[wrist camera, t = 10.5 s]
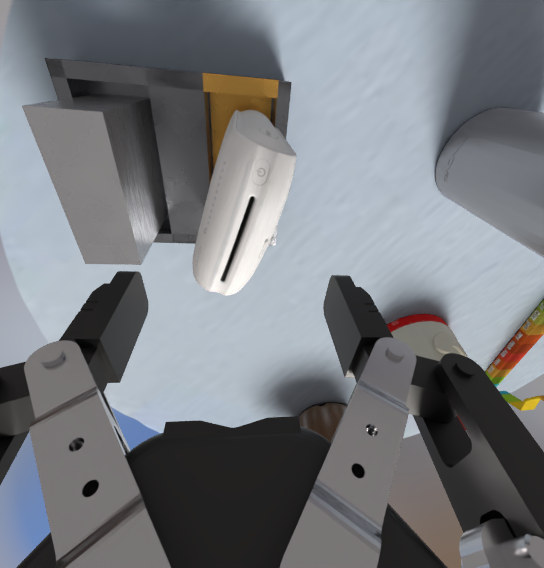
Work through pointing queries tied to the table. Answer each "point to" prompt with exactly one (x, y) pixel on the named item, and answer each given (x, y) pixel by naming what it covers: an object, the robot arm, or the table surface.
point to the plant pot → (323, 419)
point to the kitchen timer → (426, 336)
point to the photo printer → (242, 202)
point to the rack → (140, 149)
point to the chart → (518, 356)
